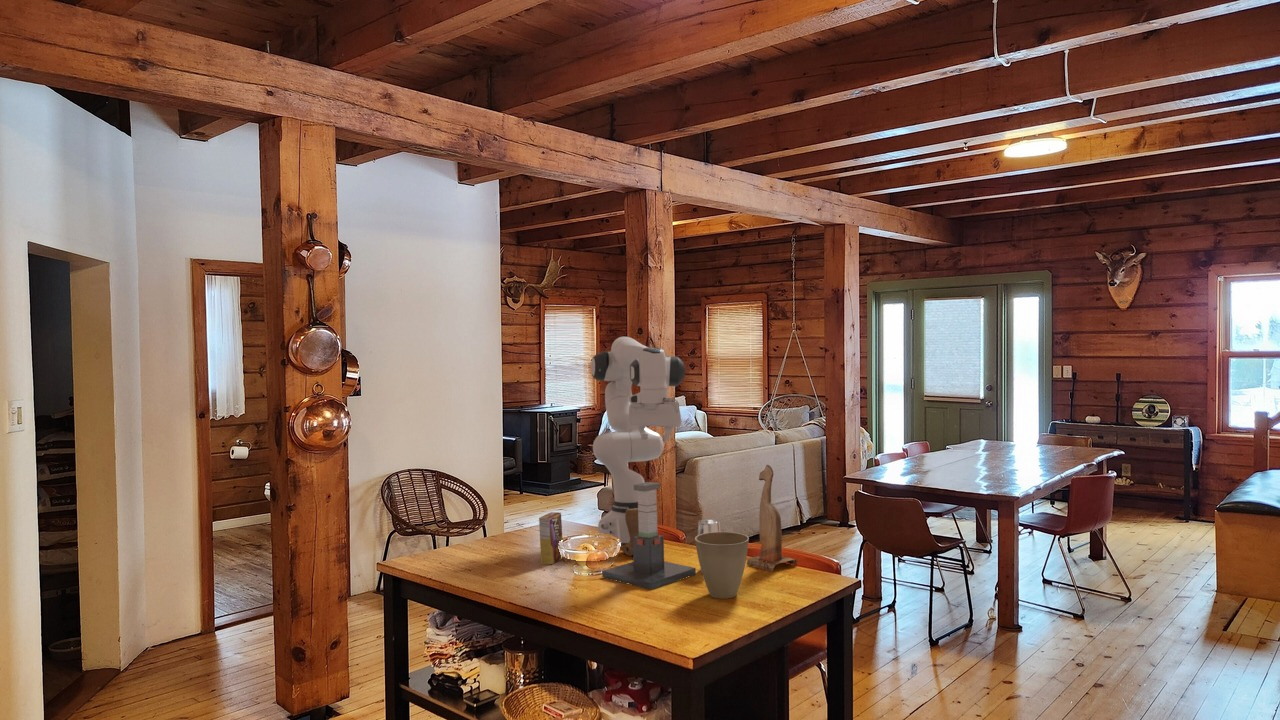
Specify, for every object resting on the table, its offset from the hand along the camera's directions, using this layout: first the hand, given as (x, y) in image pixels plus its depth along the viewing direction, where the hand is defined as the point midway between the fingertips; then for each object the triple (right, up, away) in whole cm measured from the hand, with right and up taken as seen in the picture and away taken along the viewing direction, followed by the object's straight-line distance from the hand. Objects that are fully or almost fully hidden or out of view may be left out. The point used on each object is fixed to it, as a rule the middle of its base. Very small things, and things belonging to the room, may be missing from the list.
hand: (655, 440), depth 265 cm
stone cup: (-5, -39, +13) cm, 42 cm away
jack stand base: (-2, -39, -17) cm, 43 cm away
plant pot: (+18, -39, -38) cm, 58 cm away
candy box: (-34, -40, +3) cm, 53 cm away
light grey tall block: (-2, -31, -17) cm, 35 cm away
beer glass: (+17, -39, -12) cm, 44 cm away
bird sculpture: (+37, -39, -9) cm, 54 cm away
